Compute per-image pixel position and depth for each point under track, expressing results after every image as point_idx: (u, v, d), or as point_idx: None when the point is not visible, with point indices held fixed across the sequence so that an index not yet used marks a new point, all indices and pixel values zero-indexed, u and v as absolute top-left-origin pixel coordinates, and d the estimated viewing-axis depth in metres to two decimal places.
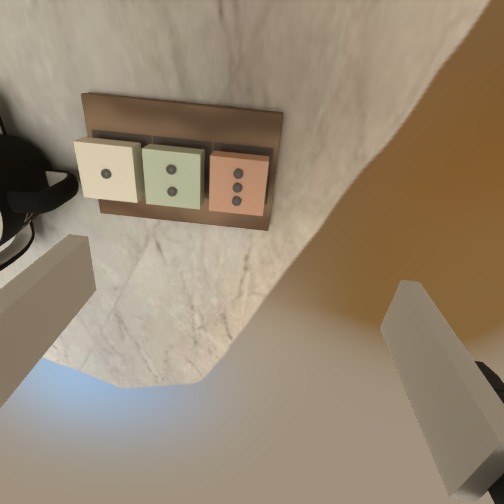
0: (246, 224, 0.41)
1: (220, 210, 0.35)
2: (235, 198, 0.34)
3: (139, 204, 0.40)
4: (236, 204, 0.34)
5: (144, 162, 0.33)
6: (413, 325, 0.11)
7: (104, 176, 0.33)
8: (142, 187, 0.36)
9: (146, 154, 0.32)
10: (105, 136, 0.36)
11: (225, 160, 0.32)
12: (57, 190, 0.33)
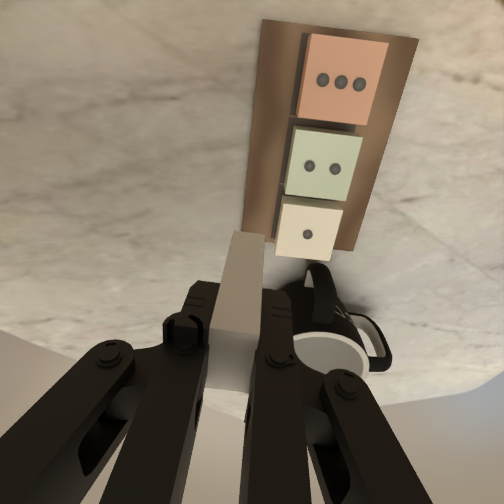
0: (401, 75, 0.29)
1: (369, 109, 0.27)
2: (354, 86, 0.26)
3: (350, 210, 0.36)
4: (363, 84, 0.25)
5: (299, 194, 0.31)
6: None
7: (310, 236, 0.33)
8: (328, 202, 0.33)
9: (291, 190, 0.30)
10: None
11: (304, 96, 0.26)
12: (318, 281, 0.34)
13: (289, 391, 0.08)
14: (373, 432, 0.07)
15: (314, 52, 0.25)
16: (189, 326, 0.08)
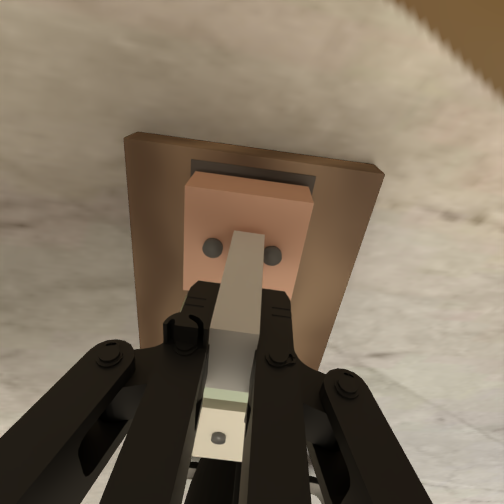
0: (357, 222, 0.18)
1: (291, 284, 0.17)
2: None
3: None
4: (278, 257, 0.16)
5: None
6: None
7: (221, 442, 0.21)
8: None
9: None
10: None
11: (188, 266, 0.17)
12: None
13: (289, 391, 0.08)
14: (373, 432, 0.07)
15: (193, 210, 0.15)
16: (189, 326, 0.08)
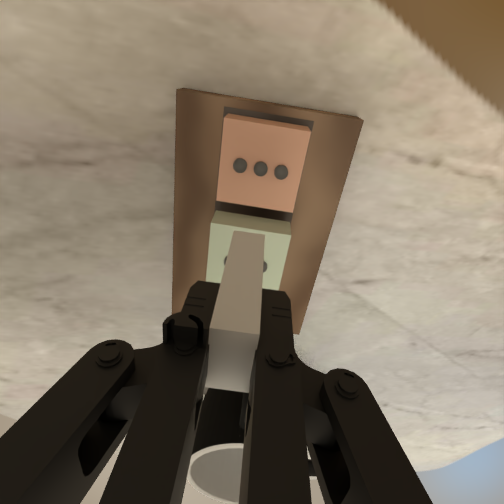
0: (344, 158, 0.25)
1: (294, 196, 0.24)
2: (275, 173, 0.23)
3: (293, 294, 0.32)
4: (285, 173, 0.23)
5: None
6: None
7: None
8: None
9: None
10: None
11: (221, 180, 0.23)
12: None
13: (289, 391, 0.08)
14: (373, 432, 0.07)
15: (228, 136, 0.22)
16: (189, 326, 0.08)
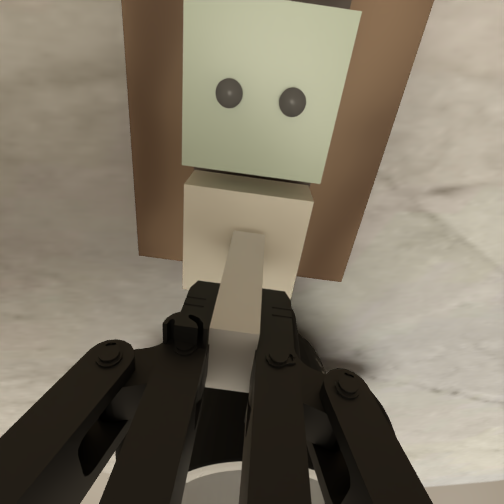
0: None
1: None
2: None
3: (335, 208, 0.19)
4: None
5: (214, 165, 0.13)
6: None
7: None
8: (286, 185, 0.16)
9: (195, 156, 0.13)
10: None
11: None
12: None
13: (289, 391, 0.08)
14: (373, 432, 0.07)
15: None
16: (189, 326, 0.08)
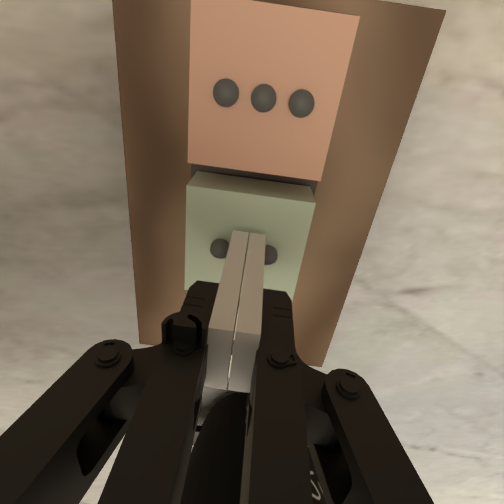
0: (405, 88, 0.14)
1: (324, 151, 0.13)
2: (291, 106, 0.12)
3: (314, 312, 0.21)
4: (310, 104, 0.12)
5: None
6: None
7: None
8: None
9: None
10: None
11: (195, 125, 0.13)
12: None
13: (290, 391, 0.08)
14: (375, 432, 0.07)
15: (202, 34, 0.12)
16: (188, 326, 0.08)
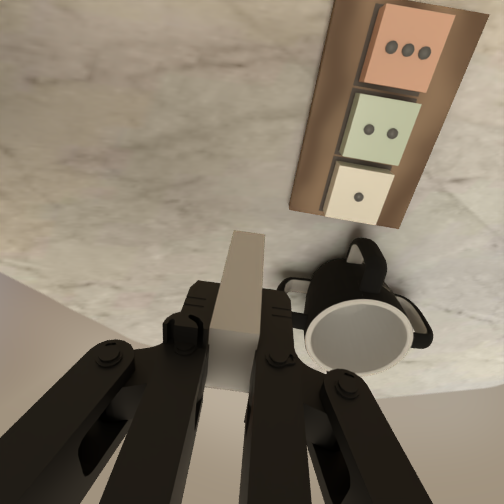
0: (467, 51, 0.30)
1: (430, 77, 0.29)
2: (420, 54, 0.28)
3: (400, 186, 0.37)
4: (428, 53, 0.28)
5: (356, 156, 0.33)
6: None
7: (360, 199, 0.35)
8: (379, 168, 0.35)
9: (348, 152, 0.33)
10: None
11: (372, 62, 0.29)
12: (367, 251, 0.35)
13: (289, 391, 0.08)
14: (373, 432, 0.07)
15: (386, 21, 0.28)
16: (189, 326, 0.08)
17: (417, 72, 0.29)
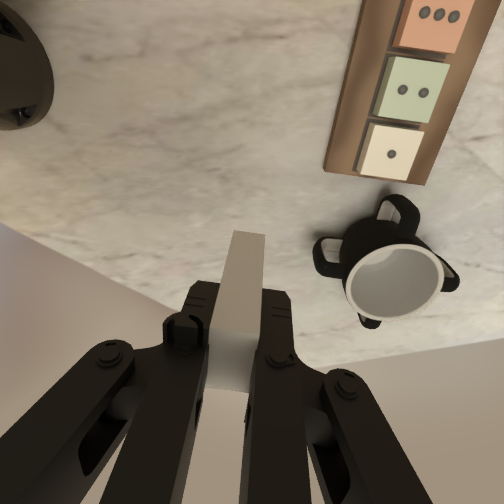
0: (489, 15, 0.34)
1: (458, 39, 0.33)
2: (450, 17, 0.32)
3: (427, 145, 0.41)
4: (458, 16, 0.32)
5: (390, 116, 0.37)
6: None
7: (393, 155, 0.39)
8: (409, 128, 0.39)
9: (383, 112, 0.37)
10: None
11: (407, 27, 0.33)
12: (401, 203, 0.39)
13: (289, 391, 0.08)
14: (373, 432, 0.07)
15: None
16: (189, 326, 0.08)
17: (447, 35, 0.33)
